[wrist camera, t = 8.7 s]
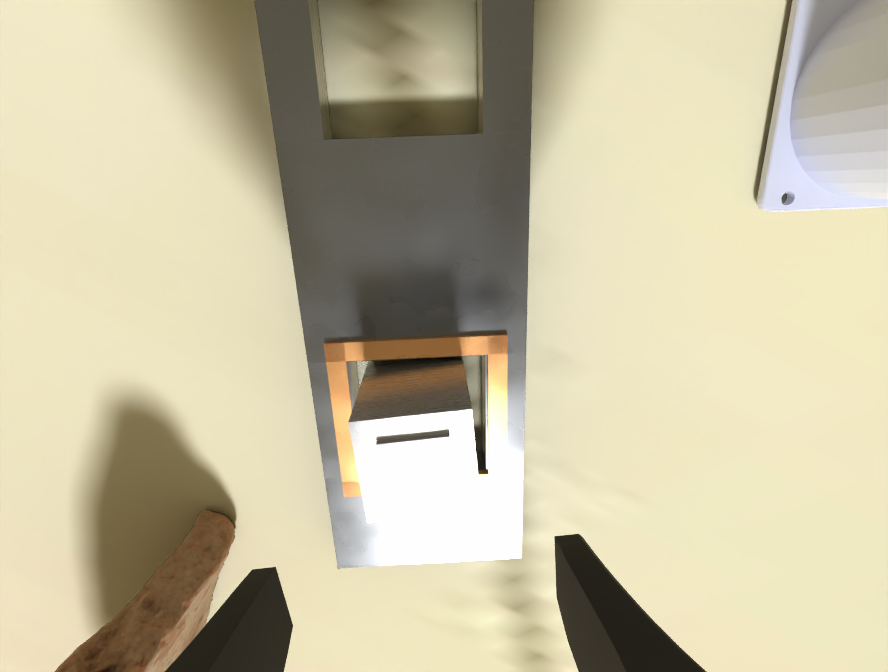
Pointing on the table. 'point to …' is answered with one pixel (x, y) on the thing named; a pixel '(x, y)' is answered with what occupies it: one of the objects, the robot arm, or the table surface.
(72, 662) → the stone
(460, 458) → the grey rectangular block
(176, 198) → the table surface
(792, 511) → the table surface
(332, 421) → the rail
